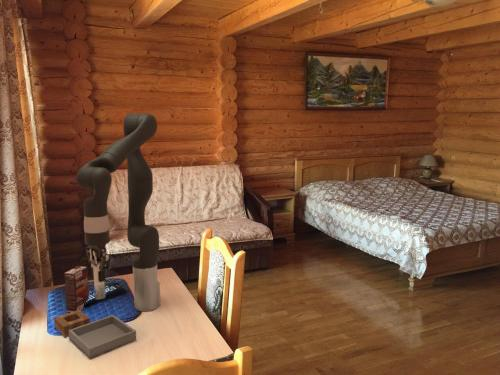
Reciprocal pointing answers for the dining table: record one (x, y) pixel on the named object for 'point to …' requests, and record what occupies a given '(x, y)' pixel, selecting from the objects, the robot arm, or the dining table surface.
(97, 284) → the lock pin
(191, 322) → the dining table surface
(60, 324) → the pin holder
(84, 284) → the supplement box
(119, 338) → the tray
